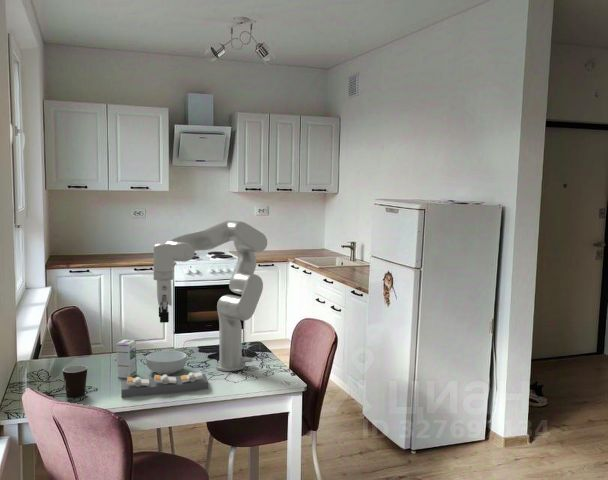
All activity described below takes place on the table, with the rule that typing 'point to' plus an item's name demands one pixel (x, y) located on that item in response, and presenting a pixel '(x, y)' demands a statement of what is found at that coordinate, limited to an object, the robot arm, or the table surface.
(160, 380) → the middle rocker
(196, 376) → the rocker
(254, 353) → the table surface
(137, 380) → the rocker
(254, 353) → the table surface
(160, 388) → the switch panel
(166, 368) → the cereal bowl
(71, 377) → the coffee mug
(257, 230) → the robot arm
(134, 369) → the syrup box
